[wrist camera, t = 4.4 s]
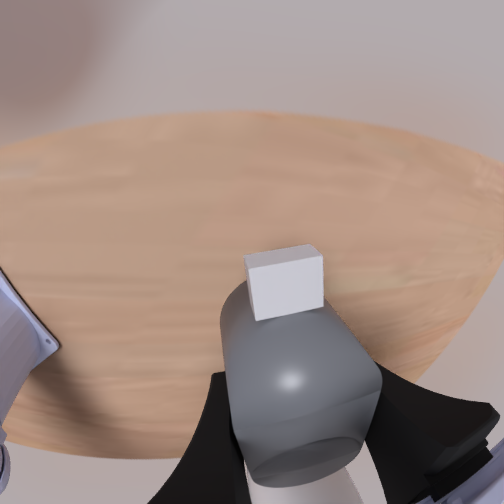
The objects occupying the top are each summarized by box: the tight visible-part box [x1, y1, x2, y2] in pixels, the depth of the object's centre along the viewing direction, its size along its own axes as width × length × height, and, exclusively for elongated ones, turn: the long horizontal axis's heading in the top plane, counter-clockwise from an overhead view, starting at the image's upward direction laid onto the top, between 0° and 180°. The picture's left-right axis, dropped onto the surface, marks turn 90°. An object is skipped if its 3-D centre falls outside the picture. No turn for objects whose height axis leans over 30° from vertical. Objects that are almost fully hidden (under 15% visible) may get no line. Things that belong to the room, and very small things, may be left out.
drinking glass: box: [247, 467, 363, 504], centre depth 15 cm, size 7×7×15 cm
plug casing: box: [220, 244, 382, 488], centre depth 9 cm, size 10×4×5 cm, turn 7°
